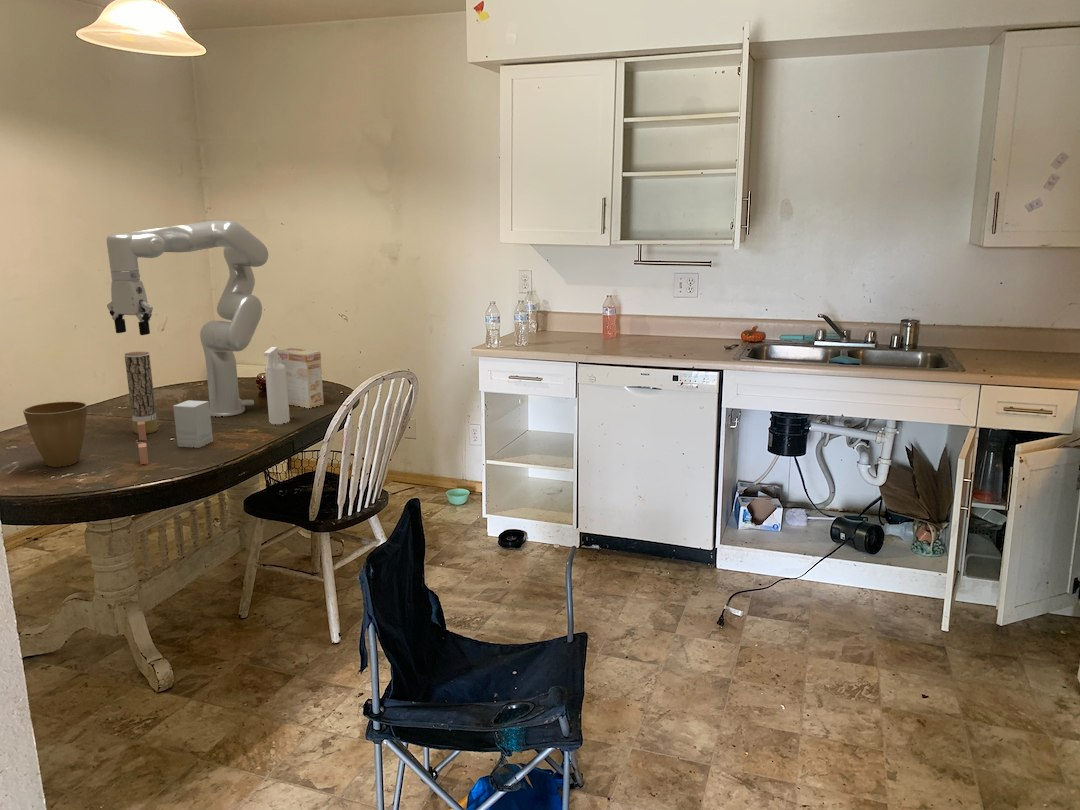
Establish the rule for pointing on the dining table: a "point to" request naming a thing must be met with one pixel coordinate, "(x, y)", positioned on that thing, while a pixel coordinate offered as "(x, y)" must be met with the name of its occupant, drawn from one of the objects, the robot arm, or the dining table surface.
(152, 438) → the dining table surface
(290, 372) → the coffeecake box
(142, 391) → the paper tube
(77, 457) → the plant pot
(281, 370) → the white pump bottle
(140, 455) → the pinkish brown rectangular block
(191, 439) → the supplement box
